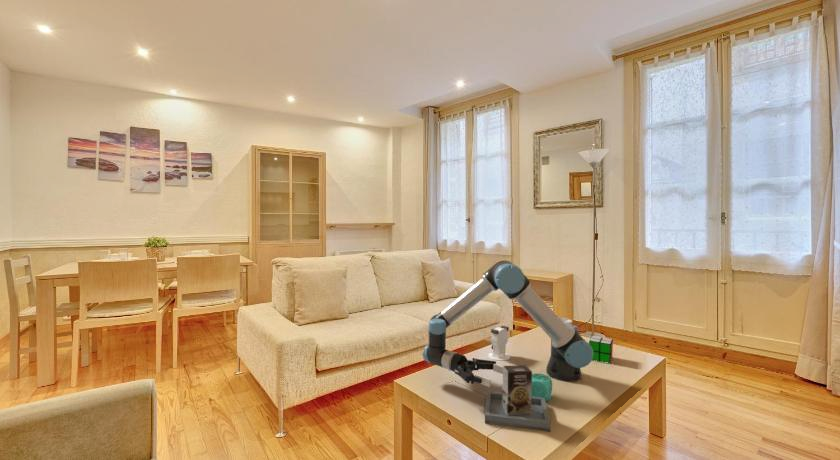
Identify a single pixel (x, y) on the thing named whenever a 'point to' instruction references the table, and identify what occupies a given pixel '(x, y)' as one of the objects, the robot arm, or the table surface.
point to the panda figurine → (499, 343)
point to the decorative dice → (541, 386)
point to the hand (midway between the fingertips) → (499, 377)
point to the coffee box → (517, 390)
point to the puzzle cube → (601, 348)
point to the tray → (532, 421)
